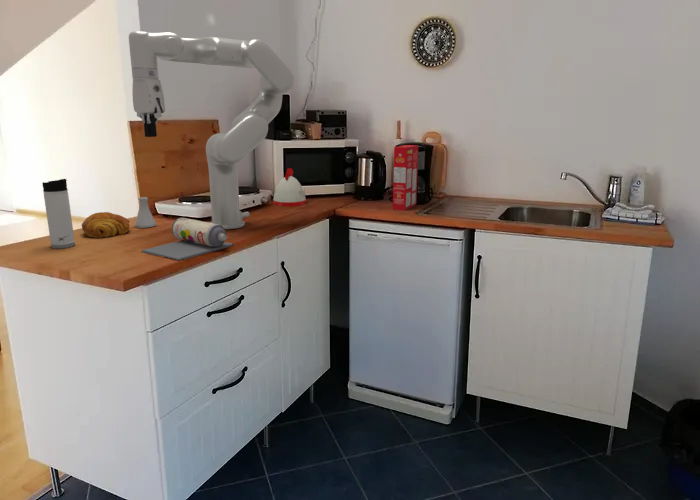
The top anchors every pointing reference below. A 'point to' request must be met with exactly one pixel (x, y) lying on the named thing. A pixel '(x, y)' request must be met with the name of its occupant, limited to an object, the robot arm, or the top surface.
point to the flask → (144, 215)
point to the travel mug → (58, 214)
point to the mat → (183, 249)
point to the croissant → (105, 225)
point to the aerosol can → (199, 232)
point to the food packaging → (405, 177)
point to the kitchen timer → (289, 191)
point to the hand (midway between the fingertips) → (150, 136)
